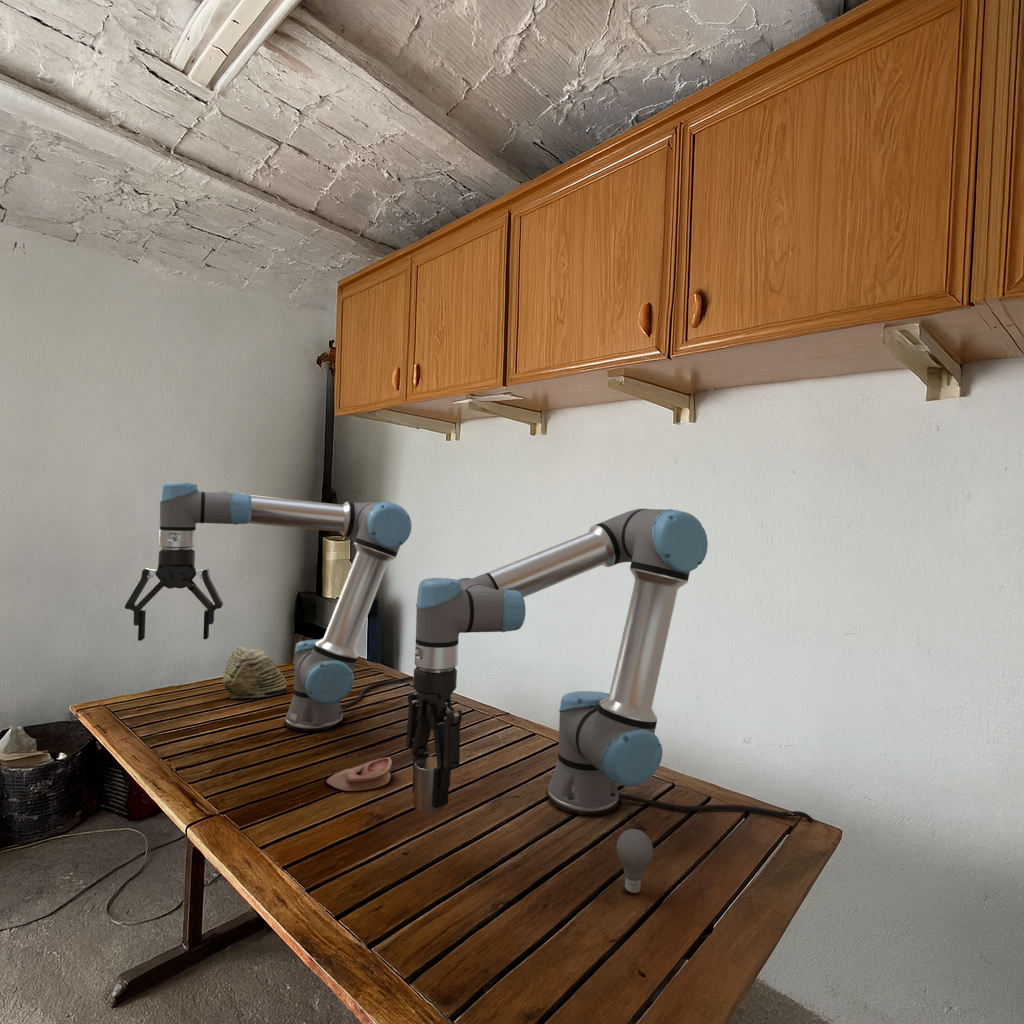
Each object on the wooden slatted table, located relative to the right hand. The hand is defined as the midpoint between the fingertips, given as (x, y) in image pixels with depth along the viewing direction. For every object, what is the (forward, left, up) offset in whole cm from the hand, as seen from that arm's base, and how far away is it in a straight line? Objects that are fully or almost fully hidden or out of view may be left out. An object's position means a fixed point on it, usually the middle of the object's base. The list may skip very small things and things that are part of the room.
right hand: (429, 798), depth 111 cm
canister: (0, 0, -1) cm, 1 cm away
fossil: (+40, -101, -11) cm, 109 cm away
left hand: (+53, -54, +17) cm, 77 cm away
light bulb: (-32, +15, -11) cm, 37 cm away
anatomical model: (+10, -35, -11) cm, 38 cm away
